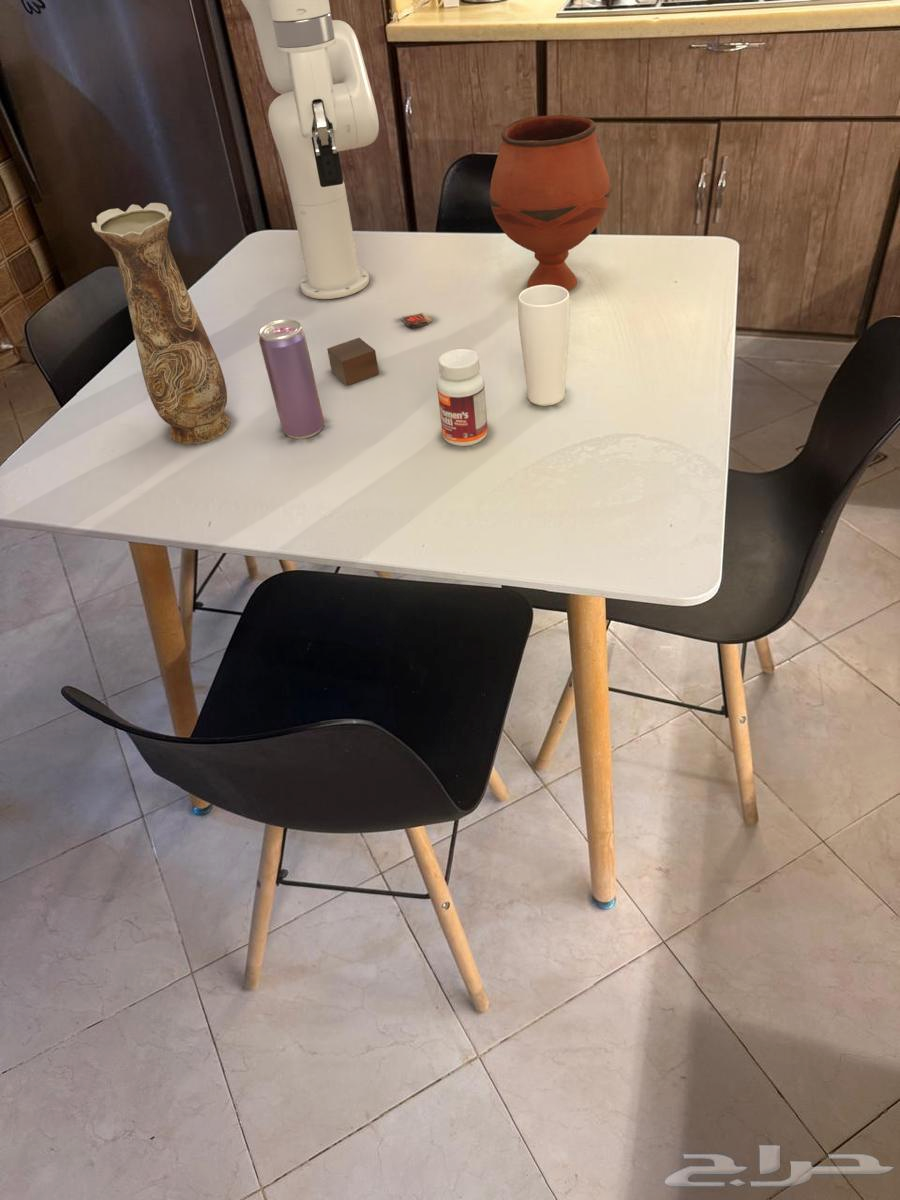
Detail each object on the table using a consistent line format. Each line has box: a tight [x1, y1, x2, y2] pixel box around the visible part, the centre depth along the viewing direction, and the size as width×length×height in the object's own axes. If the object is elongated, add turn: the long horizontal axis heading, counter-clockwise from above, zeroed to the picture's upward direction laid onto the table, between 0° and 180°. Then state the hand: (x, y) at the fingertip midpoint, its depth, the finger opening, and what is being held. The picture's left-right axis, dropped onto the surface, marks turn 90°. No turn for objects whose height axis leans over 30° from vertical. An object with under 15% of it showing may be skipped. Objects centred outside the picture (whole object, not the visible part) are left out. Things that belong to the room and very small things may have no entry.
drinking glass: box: [517, 285, 571, 407], centre depth 117 cm, size 7×7×15 cm
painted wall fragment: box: [399, 312, 433, 329], centre depth 144 cm, size 5×5×1 cm
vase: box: [91, 202, 231, 445], centre depth 115 cm, size 10×11×30 cm
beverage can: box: [258, 319, 325, 440], centre depth 118 cm, size 6×6×15 cm
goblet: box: [489, 114, 611, 292], centre depth 142 cm, size 19×19×25 cm
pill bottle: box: [436, 348, 488, 447], centre depth 114 cm, size 6×6×11 cm
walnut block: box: [326, 337, 380, 386], centre depth 132 cm, size 6×6×4 cm
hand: (329, 175), depth 123 cm, fingers open, 9 cm apart
